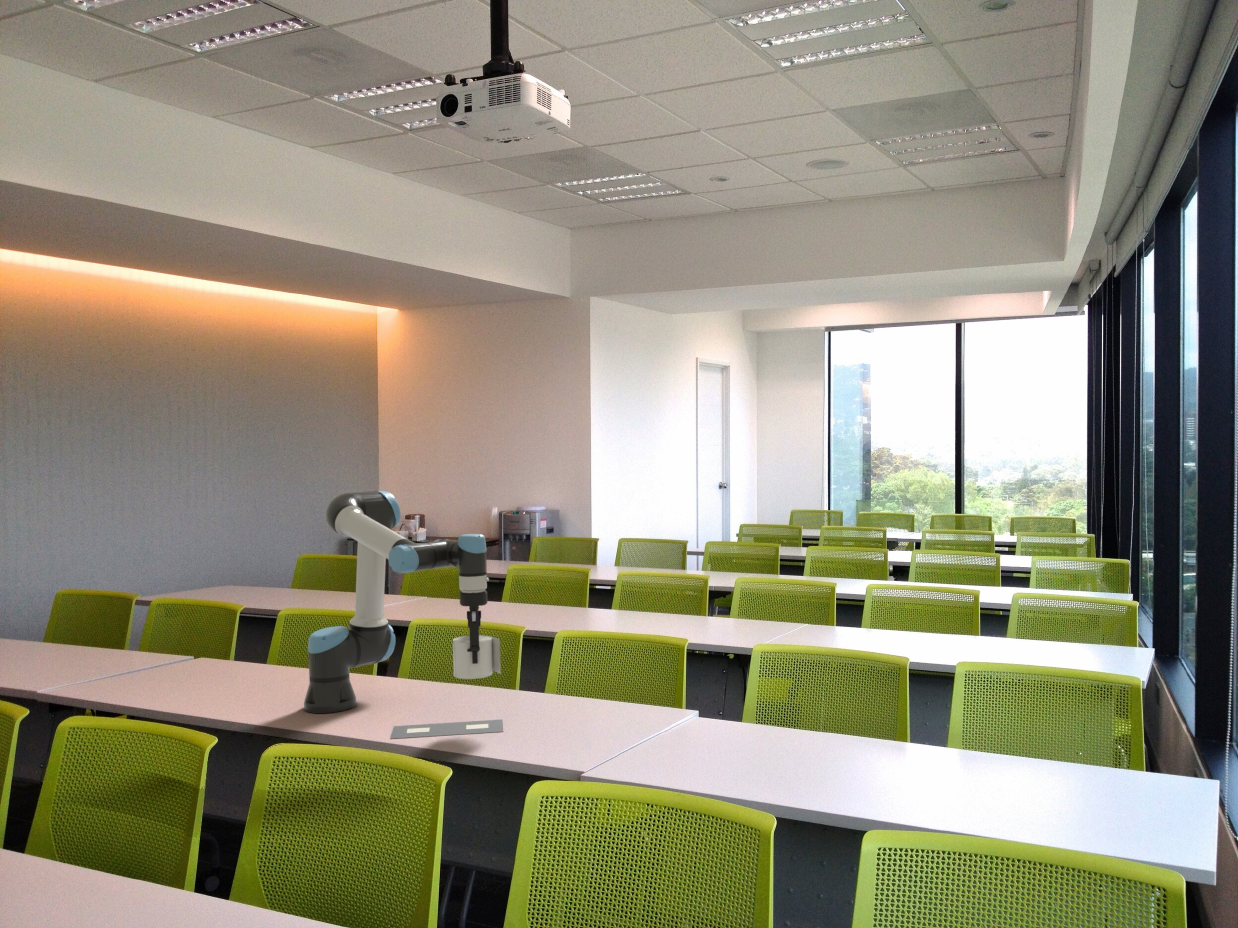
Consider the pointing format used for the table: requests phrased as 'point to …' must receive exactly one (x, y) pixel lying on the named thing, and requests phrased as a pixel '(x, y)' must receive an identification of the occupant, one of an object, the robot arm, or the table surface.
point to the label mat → (447, 729)
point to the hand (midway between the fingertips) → (475, 670)
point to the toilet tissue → (487, 657)
